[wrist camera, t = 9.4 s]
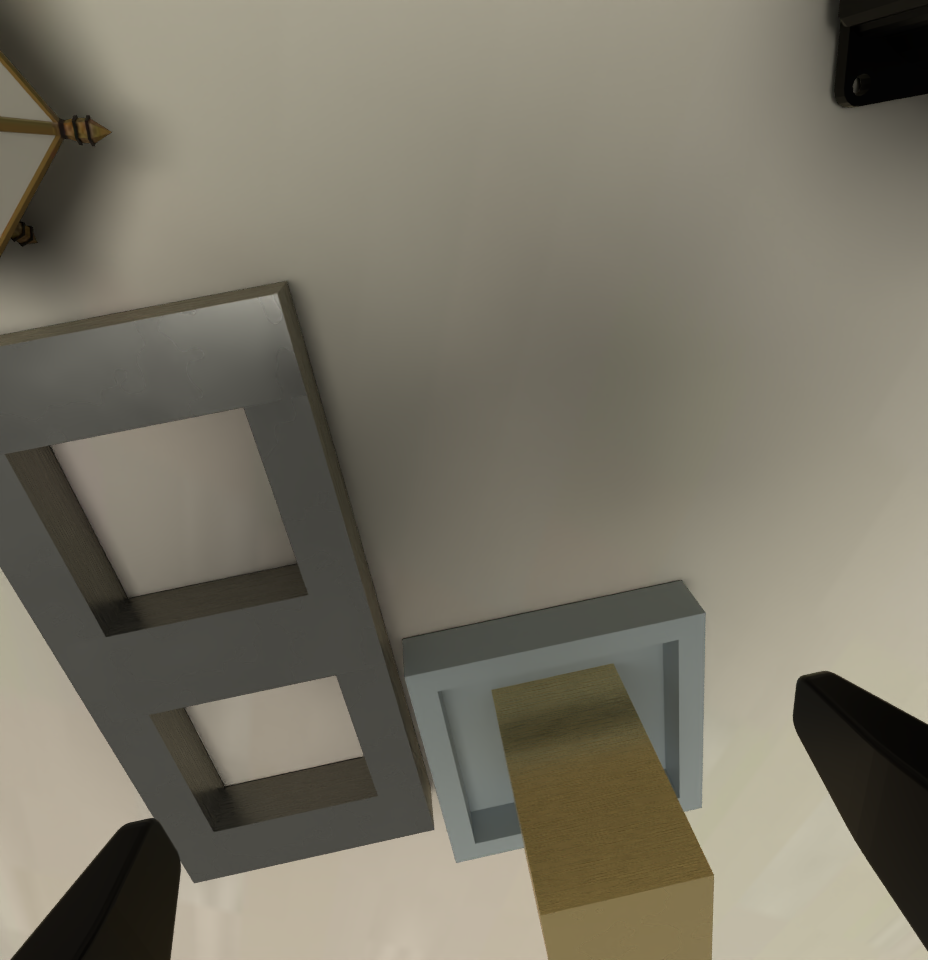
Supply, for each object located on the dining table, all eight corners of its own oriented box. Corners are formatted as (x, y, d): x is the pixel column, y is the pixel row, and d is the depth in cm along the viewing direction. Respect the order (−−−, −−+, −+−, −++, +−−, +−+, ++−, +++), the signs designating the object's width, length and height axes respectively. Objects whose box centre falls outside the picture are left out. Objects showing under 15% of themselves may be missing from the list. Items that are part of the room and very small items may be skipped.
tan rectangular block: (613, 663, 25) (713, 875, 18) (619, 747, 28) (711, 967, 20) (491, 689, 25) (540, 915, 18) (508, 773, 27) (557, 1004, 20)
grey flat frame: (287, 281, 18) (277, 293, 16) (430, 787, 28) (434, 829, 26) (-71, 348, 18) (-121, 369, 16) (206, 836, 28) (194, 883, 26)
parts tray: (681, 580, 24) (705, 612, 23) (682, 768, 30) (701, 807, 28) (402, 639, 24) (404, 677, 22) (451, 820, 29) (456, 863, 27)
